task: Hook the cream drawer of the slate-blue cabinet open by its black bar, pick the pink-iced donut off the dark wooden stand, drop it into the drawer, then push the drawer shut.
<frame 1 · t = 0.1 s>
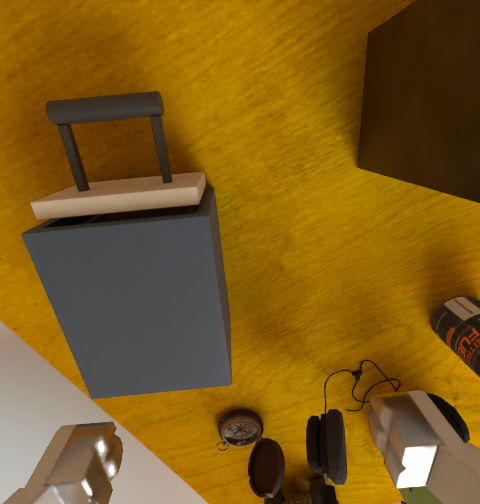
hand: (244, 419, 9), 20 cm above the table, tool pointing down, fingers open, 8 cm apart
headphones: (347, 381, 36), on the table
toy vehicle: (301, 493, 46), on the table
stand: (421, 100, 23), on the table
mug: (403, 429, 41), on the table
compass: (240, 428, 39), on the table
drawer: (142, 234, 22), point 4 cm above the table, slide at 0.5 cm
pill bottle: (453, 315, 33), on the table
cabinet: (165, 266, 29), on the table
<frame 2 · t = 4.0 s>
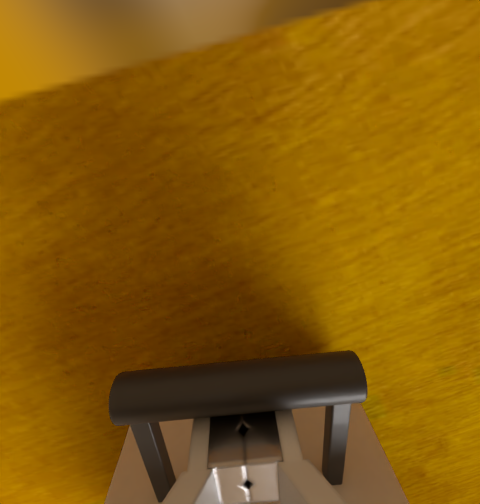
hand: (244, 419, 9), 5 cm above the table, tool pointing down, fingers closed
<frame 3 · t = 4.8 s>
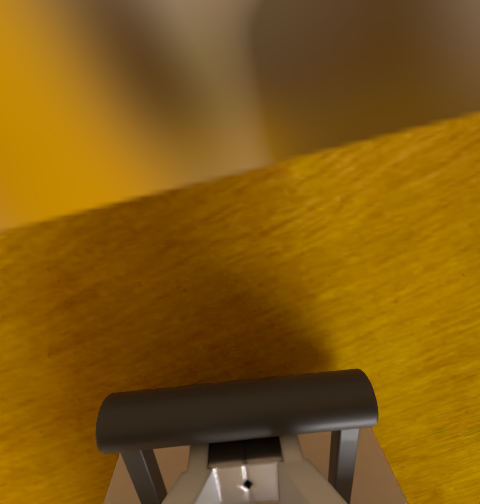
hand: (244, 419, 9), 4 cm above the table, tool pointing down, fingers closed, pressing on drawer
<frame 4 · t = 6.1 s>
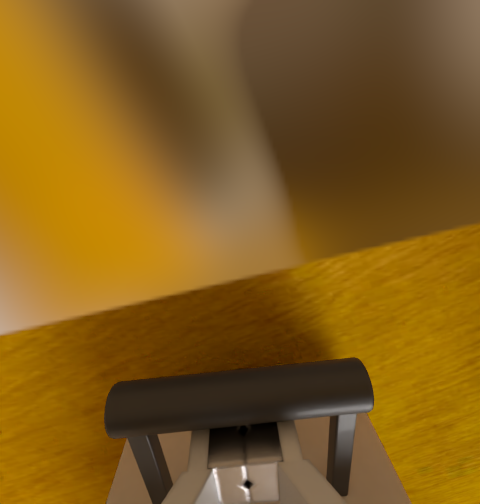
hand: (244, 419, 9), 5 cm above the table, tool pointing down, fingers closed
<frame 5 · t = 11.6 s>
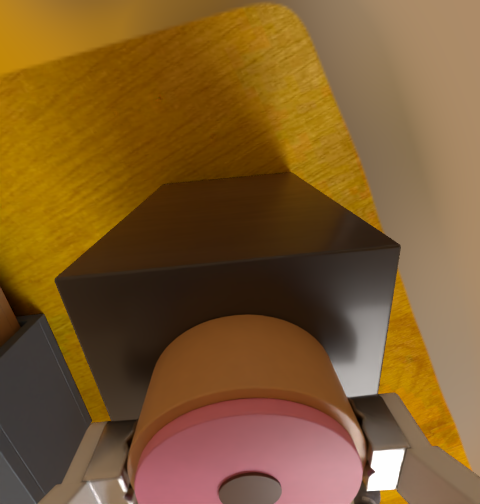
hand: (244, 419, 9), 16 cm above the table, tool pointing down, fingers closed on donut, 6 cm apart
stand: (233, 238, 24), on the table
pill bottle: (319, 411, 33), on the table
cabinet: (13, 378, 29), on the table
donut: (243, 387, 10), point 15 cm above the table, touching gripper, stand
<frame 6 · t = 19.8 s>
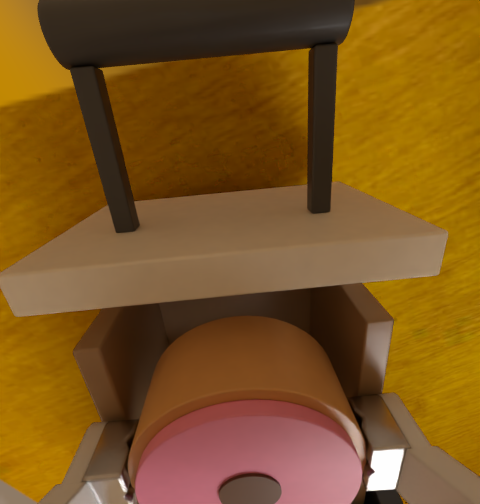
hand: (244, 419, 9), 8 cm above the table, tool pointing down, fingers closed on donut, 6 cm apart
drawer: (234, 308, 11), point 4 cm above the table, slide at 10.3 cm
cabinet: (251, 438, 21), on the table
donut: (243, 388, 10), point 7 cm above the table, touching gripper
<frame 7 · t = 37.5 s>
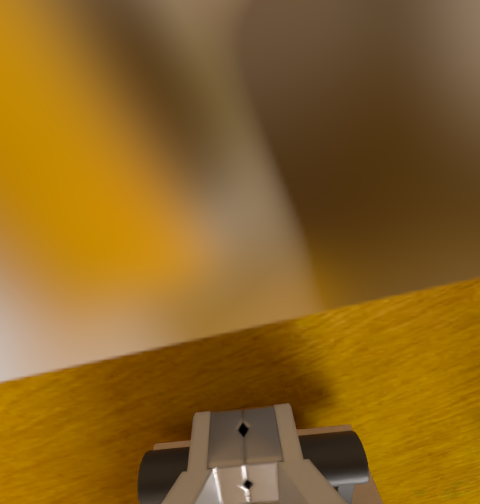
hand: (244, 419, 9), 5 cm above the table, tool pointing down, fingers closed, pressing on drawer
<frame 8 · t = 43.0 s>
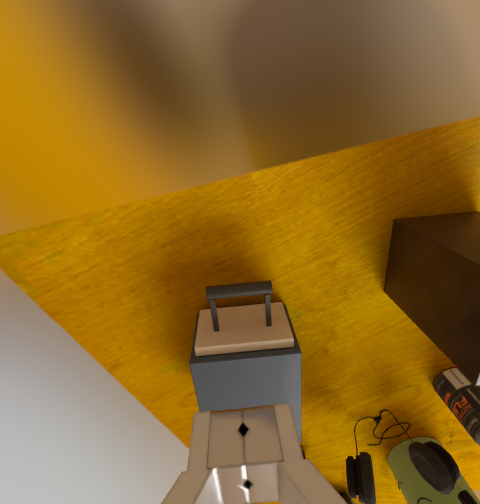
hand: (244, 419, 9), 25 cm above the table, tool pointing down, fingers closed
headphones: (369, 423, 48), on the table
stand: (427, 253, 35), on the table
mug: (411, 457, 53), on the table
drawer: (245, 348, 34), point 4 cm above the table, slide at 0.0 cm, touching cabinet, donut
pill bottle: (450, 379, 45), on the table
cabinet: (245, 351, 40), on the table
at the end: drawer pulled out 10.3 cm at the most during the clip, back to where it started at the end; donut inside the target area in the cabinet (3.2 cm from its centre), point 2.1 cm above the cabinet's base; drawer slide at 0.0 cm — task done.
